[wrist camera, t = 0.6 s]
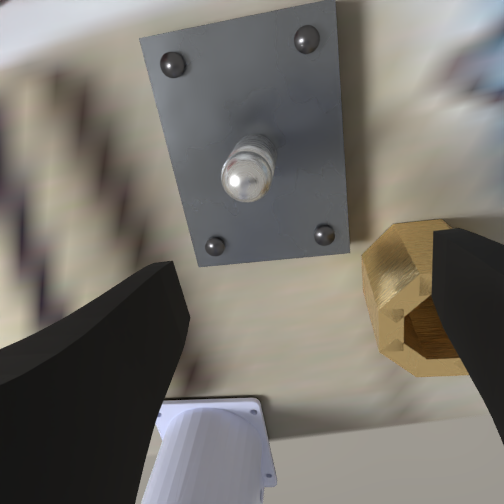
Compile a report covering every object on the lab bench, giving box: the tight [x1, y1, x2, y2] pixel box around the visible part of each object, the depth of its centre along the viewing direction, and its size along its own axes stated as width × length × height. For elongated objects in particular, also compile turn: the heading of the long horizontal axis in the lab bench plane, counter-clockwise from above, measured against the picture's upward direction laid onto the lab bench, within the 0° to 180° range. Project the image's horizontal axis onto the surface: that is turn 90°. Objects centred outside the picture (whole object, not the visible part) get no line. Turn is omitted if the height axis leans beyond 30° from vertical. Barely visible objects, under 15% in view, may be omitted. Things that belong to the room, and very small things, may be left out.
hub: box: [362, 219, 469, 377], centre depth 19 cm, size 6×6×5 cm
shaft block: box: [139, 0, 350, 267], centre depth 17 cm, size 11×8×5 cm
